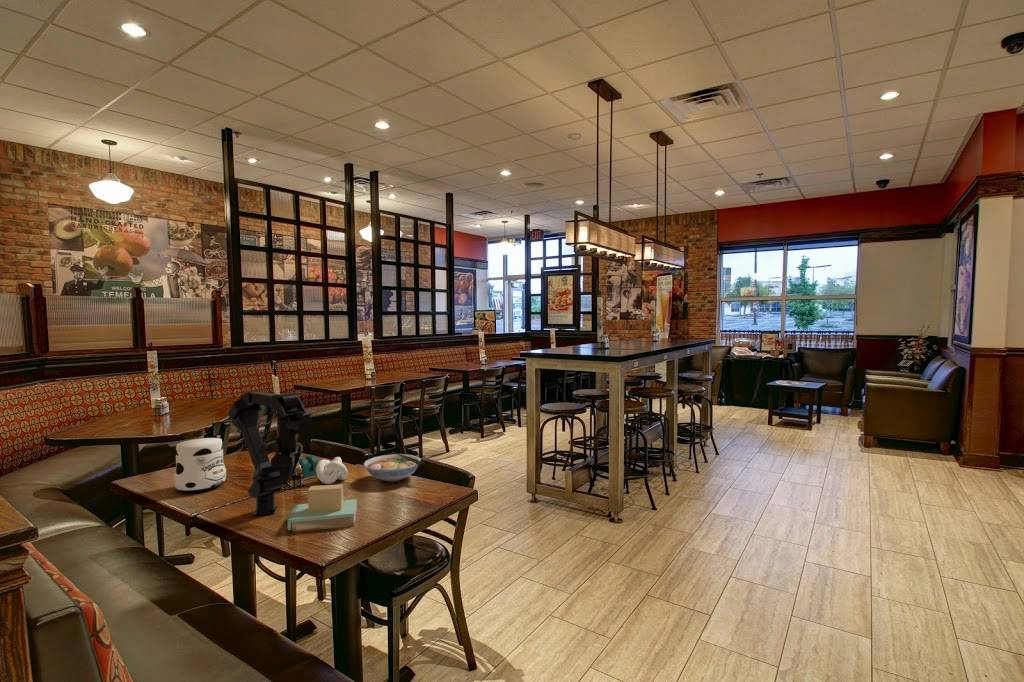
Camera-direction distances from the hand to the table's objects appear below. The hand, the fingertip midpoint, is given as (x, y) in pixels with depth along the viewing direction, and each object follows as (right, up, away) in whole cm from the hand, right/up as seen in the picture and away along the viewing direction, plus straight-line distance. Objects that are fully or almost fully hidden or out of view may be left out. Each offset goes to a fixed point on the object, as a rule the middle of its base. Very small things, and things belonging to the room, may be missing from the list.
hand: (288, 479), depth 157 cm
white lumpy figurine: (-1, -12, +40) cm, 42 cm away
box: (+13, -13, -1) cm, 18 cm away
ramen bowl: (+24, -12, +41) cm, 49 cm away
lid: (+12, -12, -1) cm, 17 cm away
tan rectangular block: (+13, -9, -1) cm, 16 cm away
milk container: (-49, -13, +32) cm, 60 cm away
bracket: (-19, -12, +51) cm, 56 cm away
